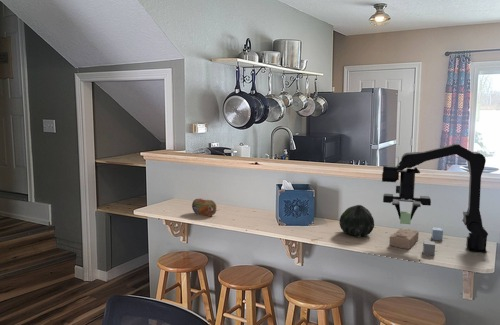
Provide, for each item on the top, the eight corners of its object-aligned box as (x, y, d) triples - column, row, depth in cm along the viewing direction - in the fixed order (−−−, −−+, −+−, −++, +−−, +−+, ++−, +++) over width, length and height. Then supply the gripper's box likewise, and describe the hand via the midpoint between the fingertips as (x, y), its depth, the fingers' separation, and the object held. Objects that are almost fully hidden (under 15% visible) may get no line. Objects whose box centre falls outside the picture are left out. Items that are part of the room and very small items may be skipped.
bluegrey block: (441, 237, 193) (442, 228, 192) (442, 240, 189) (443, 230, 189) (431, 237, 194) (432, 227, 194) (432, 239, 191) (433, 229, 190)
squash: (348, 215, 209) (342, 196, 198) (379, 221, 201) (375, 202, 191) (339, 240, 201) (332, 222, 191) (371, 247, 194) (366, 228, 183)
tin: (191, 213, 233) (191, 197, 231) (195, 212, 235) (195, 196, 234) (213, 217, 224) (213, 201, 223) (217, 216, 227) (217, 200, 225)
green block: (409, 221, 187) (410, 211, 186) (410, 224, 183) (410, 213, 182) (400, 221, 188) (400, 210, 187) (400, 223, 184) (400, 213, 183)
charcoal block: (433, 252, 175) (434, 241, 174) (434, 255, 171) (435, 244, 170) (422, 251, 176) (423, 240, 175) (423, 254, 172) (424, 243, 172)
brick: (399, 236, 196) (400, 226, 195) (419, 239, 191) (419, 229, 190) (388, 247, 182) (389, 236, 181) (409, 250, 177) (409, 239, 177)
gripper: (429, 180, 188) (427, 216, 190) (384, 178, 193) (382, 212, 195) (432, 185, 177) (429, 223, 179) (383, 183, 183) (382, 219, 185)
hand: (405, 219), depth 185 cm, fingers closed on green block, 4 cm apart
